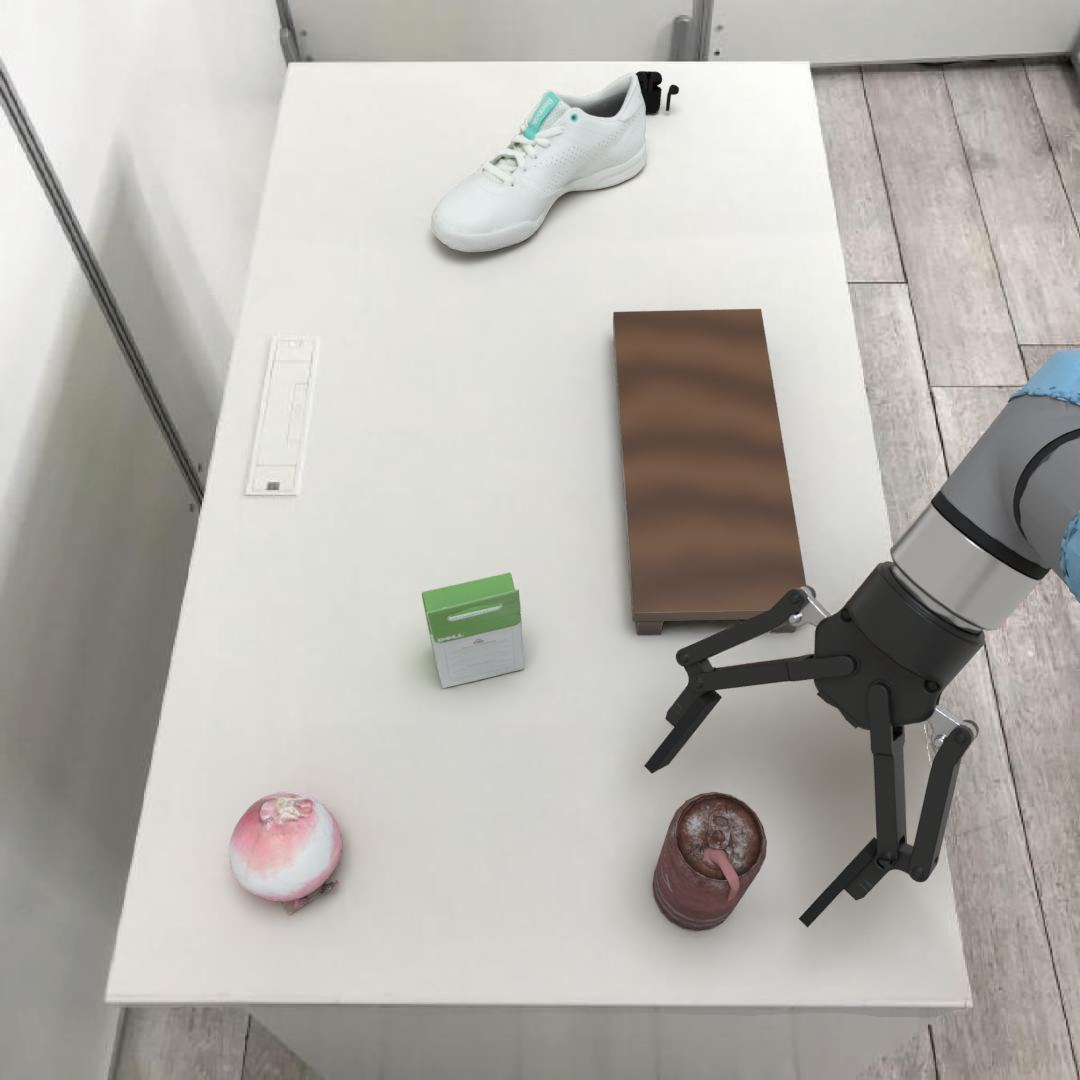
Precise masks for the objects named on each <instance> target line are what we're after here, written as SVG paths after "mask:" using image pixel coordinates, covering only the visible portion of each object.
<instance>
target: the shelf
mask: <svg viewBox="0 0 1080 1080" xmlns="http://www.w3.org/2000/svg"><path fill="white" fill-rule="evenodd" d="M612 314H613V315H612V333H613V347H614V362H615V364H614V365H615V377H616V379H615V380H616V393H617V395H616V396H617V407H618V409H617V410H618V421H619V422H618V423H619V425H618V426H619V436H620V437H619V439H620V451H621V452H620V454H621V467H622V469H621V470H622V482H623V496H624V497H623V498H624V511H625V512H624V513H625V526H626V528H625V529H626V542H627V556H628V557H627V558H628V572H629V573H628V575H629V588H630V601H631V619H632V622H634V623H635V624H636V625H635V627H636V635H637V636H654V635H655V636H656V635H657V636H658V635H662V631H663V626H664V622H684V621H689V622H690V621H732V620H735V621H736V620H748V619H750V618H752V617H755V616H757V615H759V614H761V613H764V612H766V611H768V610H770V609H771V608H772V607H773V606H774V605H775V604H776V603H777V602H778V601H779V600H780V599H781V598H782V597H783V596H784V595H785V594H786V593H787V592H788V591H790V590H792V589H795V588H799V587H802V586H807V582H806V576H805V574H806V573H805V569H804V563H803V555H802V551H801V550H802V549H801V544H800V539H799V531H798V527H797V519H796V515H795V514H796V513H795V508H794V502H793V495H792V490H791V484H790V477H789V470H788V464H787V459H786V452H785V447H784V439H783V434H782V427H781V422H780V416H779V410H778V409H779V408H778V404H777V398H776V391H775V386H774V380H773V373H772V367H771V360H770V355H769V354H770V353H769V349H768V343H767V336H766V330H765V323H764V318H763V313H762V309H761V308H732V309H731V308H730V309H729V308H727V309H683V310H682V309H681V310H680V309H679V310H678V309H677V310H636V311H633V310H632V311H631V310H630V311H613V313H612ZM796 629H797V627H794V626H792V625H791V624H790V623H788V624H786V625H784V626H782V627H779V628H777V629H775V630H772V631H770V632H769V633H795V632H796Z"/></svg>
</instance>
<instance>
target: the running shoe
mask: <svg viewBox="0 0 1080 1080" xmlns="http://www.w3.org/2000/svg"><path fill="white" fill-rule="evenodd" d="M646 114H647V113H646V108H645V102H644V99H643V97H642V94H641V89H640V85H639V81H638V77H637V75H636V73H635V72H628V73H625V74H623V75H621V76H619V77H618V78H617V79H615V80H613V81H612V82H611V83H609V84H608V85H607V86H606V87H604V88H602V89H601V90H599V91H597V92H595V93H591V94H588V95H583V96H573V95H569V94H564V93H558V92H555V91H553V90H551V89H549V90H548V89H546V90H545V92H544V93H542V95H541V96H540V97H539V100H538V101H537V103H536V104H535V106H534V107H533V109H532V110H531V112H530V113H529V114H527V116H526V117H524V121H523V123H522V124H520V125H519V132H518V134H516V135H515V136H514V137H512V138H511V139H510V143H509V145H508V146H507V147H505V148H503V149H501V150H499V151H497V153H496V156H495V157H494V158H493V159H492V160H489V161H488V160H487V161H484V162H483V163H482V164H481V165H480V167H479V168H478V169H476V170H475V171H474V172H473V173H471V174H470V175H468V176H467V177H466V178H464V179H463V180H462V181H460V182H459V183H458V184H457V185H455V186H454V187H453V188H452V189H451V190H450V191H448V192H447V193H446V194H445V195H444V196H443V197H442V198H441V199H440V200H439V202H438V203H437V204H436V205H435V207H434V208H433V210H432V212H431V218H430V219H431V220H430V221H431V222H430V227H431V230H432V232H433V234H434V235H435V237H436V238H437V239H438V240H439V241H440V242H441V243H443V244H444V245H445V246H447V247H448V248H450V249H453V250H457V251H459V252H463V253H480V252H482V253H483V252H491V251H496V250H500V249H503V248H504V249H505V248H506V247H510V246H514V245H516V244H519V243H521V242H523V241H525V240H527V239H529V238H530V237H532V236H533V235H534V233H536V231H538V230H539V228H540V227H541V226H542V224H543V222H544V221H545V219H546V217H547V215H548V213H549V212H550V210H551V208H552V206H553V205H554V204H555V202H556V201H557V200H558V199H559V198H560V197H561V196H563V195H565V194H566V193H569V192H580V191H581V192H583V191H594V190H600V189H605V188H611V187H614V186H616V185H619V184H622V183H623V182H625V181H628V180H630V179H632V178H633V177H635V176H636V175H638V173H640V172H641V171H642V170H643V168H644V167H645V165H646V162H647V138H646V131H647V117H646Z"/></svg>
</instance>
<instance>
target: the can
mask: <svg viewBox="0 0 1080 1080" xmlns="http://www.w3.org/2000/svg"><path fill="white" fill-rule="evenodd" d="M667 828H668V829H667V831H666V834H665V838H664V841H663V844H662V846H661V850H660V852H659V856H658V859H657V861H656V865H655V868H654V871H653V878H652V890H653V897H654V900H655V902H656V904H657V906H658V908H659V909H660V912H661V913H662V914H663V915H664V916H665V917H666V918H667V920H669V921H670V923H673V924H674V925H676V926H678V927H680V928H682V929H684V930H689V931H695V932H701V931H707V930H711V929H713V928H716V927H718V926H719V925H721V924H723V923H724V922H725V921H726V920H727V919H728V917H729V916H731V914H733V912H734V910H735V909H736V908H737V906H738V904H739V903H740V902H741V899H742V898H743V896H744V895H745V894H746V892H747V890H748V889H749V888H750V886H751V884H753V882H754V880H755V879H756V877H757V876H758V874H759V872H760V871H761V869H762V867H763V864H764V862H765V859H766V857H767V845H768V839H767V835H766V832H765V827H764V825H763V823H762V821H761V819H760V817H759V816H758V814H757V813H756V811H754V809H753V808H751V807H750V806H749V804H747V803H746V802H745V801H744V800H742V799H739V798H738V797H736V796H734V795H731V794H729V793H724V792H717V791H710V792H703V793H702V792H701V793H699V794H697V795H694V796H692V797H690V798H688V799H686V800H685V801H684V802H683V803H682V804H681V805H680V806H679V807H678V808H677V809H676V810H675V813H674V814H673V816H672V819H671V820H670V822H669V825H668V827H667Z"/></svg>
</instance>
